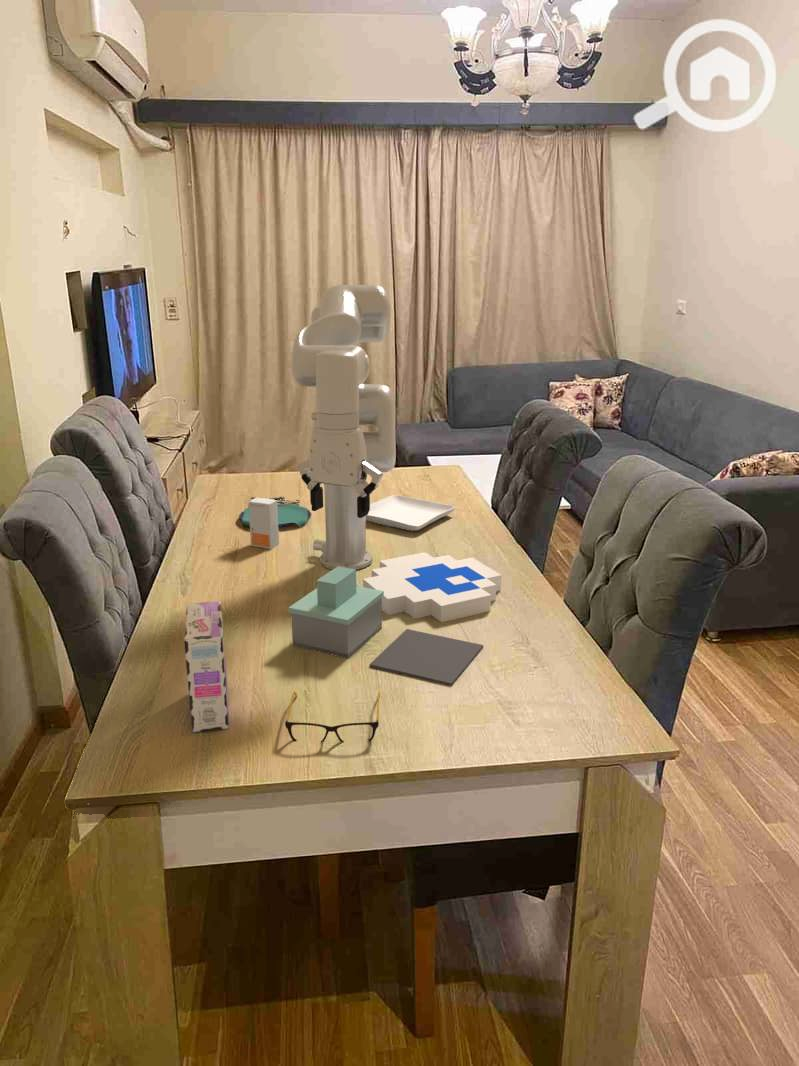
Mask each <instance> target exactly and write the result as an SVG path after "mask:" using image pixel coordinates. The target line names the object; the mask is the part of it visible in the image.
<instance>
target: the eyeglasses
mask: <svg viewBox="0 0 799 1066" xmlns="http://www.w3.org/2000/svg"><path fill="white" fill-rule="evenodd" d="M294 697H295V698H296V699H297V698H298V694H297V692H296V691H293V692H292V695H291V699H290V703H289V707H288V712H287V715H286V717H285V721H284V724H285V725H284V726H285V728H286V729H287V731H288V734H289V736H290V739H291V740H292V741H293V742H295V741H294V740H297V739H296V738H295V737H294V735H293V732H292V727H293V726H296V725H297V726H300V725H301V726H314V727H319V728H323V729H325V731H326V732H325V733H324V736H323V739H321V740H320V741H321V742H323V743H324V742H325V740H326V738H327V736H328V735H329V732H331V733H332V732H334V734H335V735H336V738H337V739H338V741H339V742H340V743H341V742H343V743H345V741H344V740H342V738H341V737H340V735H339V732H338V729H339V728H342V727H349V726H364V725H365V726H370V727H371V728H372V731H371V732H372V733H371V737H370V738H369V739H367V740H369V741H368V742H371V741H373V739H374V737H375V735H376V732H377V731H376V730H377V728H378V727H379V718H380V717H379V711H380V709H379V708H380V697H381V692H380V691H378V692H377V708H376V709H377V710H376V720H375V721H368V722H367V721H366V722H351V723H344V724H343V723H342V724H338V725H334V726H330V725H326V724H325V725H324V724H320V723H313V722H312V723H311V722H298V721H297V722H295V721H289V719H290V714H291V709H292V705H293V702H294ZM321 742H320V743H321Z"/></svg>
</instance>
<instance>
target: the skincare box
mask: <svg viewBox="0 0 799 1066" xmlns="http://www.w3.org/2000/svg"><path fill="white" fill-rule="evenodd" d="M268 498H269V497H260V498H258V496H256V498H254V499H252V500H251V499H250V500H251V501H250V500H248V508H249V517H250V526H249V533H250V546H251V547H258V548H261V549H269V550H272V549H274V548H275V547H277V546H278V545H280V538H279V537H280V535H279V527H278V510H277V504H278V503H277V502H278V499H277V500H274V499H268Z"/></svg>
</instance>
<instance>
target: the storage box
mask: <svg viewBox="0 0 799 1066" xmlns="http://www.w3.org/2000/svg"><path fill="white" fill-rule="evenodd" d="M382 612H383V610H382V598H381V599H379V600H378V601H377V602H376V603H374V604H373V605H372V606H371V607H370V608H368V609H367V610H366V611H365V612H363V613H362V614H361V615H360V616H359V617H357V618H356V619H355V620H354V621H352V622H351V623H350V624H349V625H345V624H341V623H336V622H331V621H327V620H322V619H317V618H313V617H308V616H303V615H299V614H294V613H290V614H291V616H290V617H291V637H292V638H291V639H292V646H294V647H297V648H302V649H306V650H311V651H314V650H315V652H318V651H320V652H319V653H322V652H323V654H327V653H328V654H327V655H331V654H333V655H332V656H335V655H336V657H340V658H344V657H345V659H349V658H350V657H351V656H353V655H354V654H355V653H356V652H357V651H358V650H359V649H361V646H362V647H363V646H364V645H365V644H366V643H367V642H369V641H370V640H371V639H372V638H373V637H374V636H375V635H376V634H377V633H379V631H381V630H382V628H383V622H382V621H383V613H382ZM372 636H373V637H372ZM371 637H372V638H371ZM370 638H371V639H370ZM353 653H354V654H353ZM352 654H353V655H352Z"/></svg>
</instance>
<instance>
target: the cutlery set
mask: <svg viewBox="0 0 799 1066" xmlns="http://www.w3.org/2000/svg"><path fill="white" fill-rule="evenodd" d="M256 497H258V496H256ZM256 497H254V496H251V497H250V500H249V501H251V499H254V498H256ZM285 497H286V496H279V497H267V498H268V499H277V500H280V499H285ZM258 498H261V497H258ZM282 501H285V500H280V501H277V510H278V528H283V527H289V526H294V525H297V526H299V528H303V527H304V526H306V524H307V523H308V520H309V519H310V518H311V517H312V512H311V511H310V510H309V509H308V507H305V506H301V505H300V503H299V502H300V499H299V500H296V501H298V503H296V502H294V501H291V503H294V504H284V503H286V502H282ZM279 502H280V503H279ZM278 503H279V504H278ZM238 517H239V520H240V521H241V522H242V523H243V525H244V526H248V527H250V517H249V507H247V508H244V510H242V511H241V513H240V514H239V515H238ZM302 526H303V527H302Z"/></svg>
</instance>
